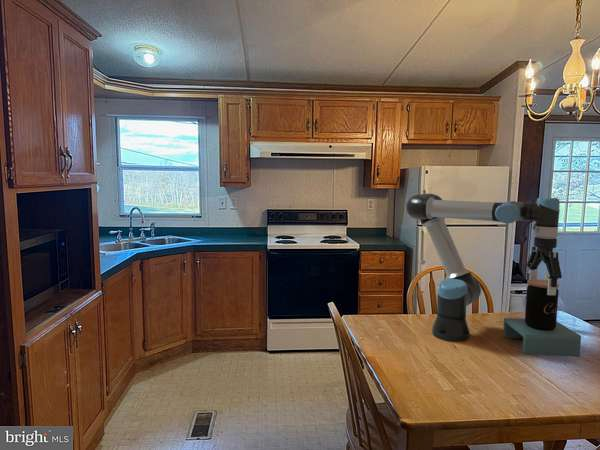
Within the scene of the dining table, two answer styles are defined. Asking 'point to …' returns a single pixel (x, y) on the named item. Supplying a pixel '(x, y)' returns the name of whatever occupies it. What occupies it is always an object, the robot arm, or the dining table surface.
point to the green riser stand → (543, 338)
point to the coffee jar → (540, 306)
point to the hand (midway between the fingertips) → (541, 290)
